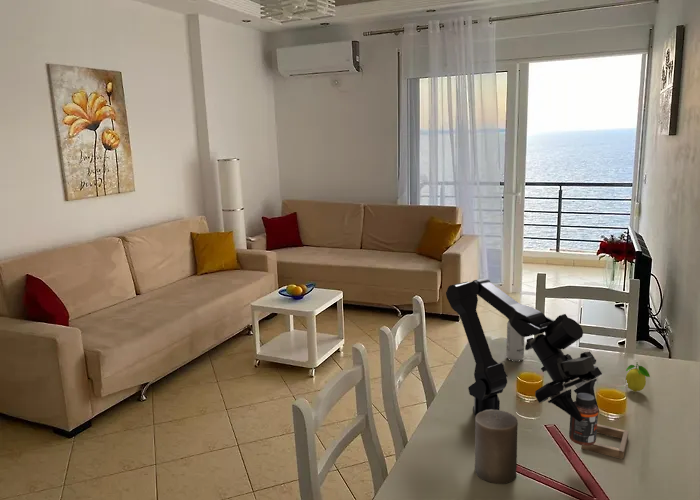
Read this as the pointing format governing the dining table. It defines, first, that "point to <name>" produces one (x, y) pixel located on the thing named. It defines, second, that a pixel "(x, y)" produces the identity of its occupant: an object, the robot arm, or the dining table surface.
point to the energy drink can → (514, 344)
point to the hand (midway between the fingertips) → (589, 417)
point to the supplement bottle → (584, 421)
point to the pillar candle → (496, 446)
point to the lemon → (636, 377)
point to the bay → (608, 449)
